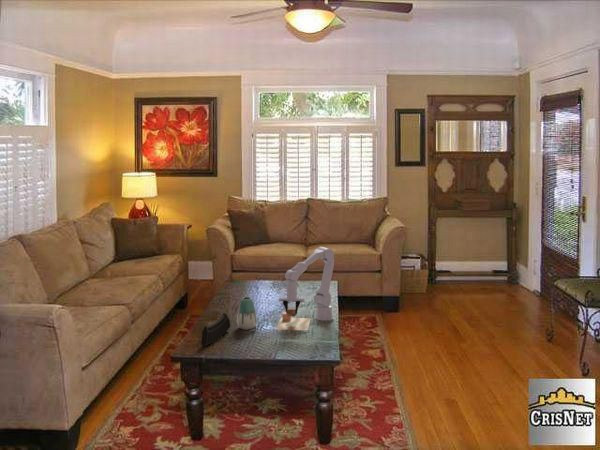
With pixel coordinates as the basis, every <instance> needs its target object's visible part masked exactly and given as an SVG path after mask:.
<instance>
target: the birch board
mask: <svg viewBox="0 0 600 450" xmlns="http://www.w3.org/2000/svg"><path fill="white" fill-rule="evenodd" d="M311 320H312V318H310V317H302V318H301V317H291V320H290V321H283V316H282V317H280V319H279V321H278V324H277V326H276V328H275V331H276V330H280V331H308V330H309V326H310V322H311Z"/></svg>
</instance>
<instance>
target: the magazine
mask: <svg viewBox="0 0 600 450" xmlns="http://www.w3.org/2000/svg"><path fill="white" fill-rule="evenodd" d="M230 327H231V322H230V318H229V316H228V315H227V313H225V312H224V313H223V314H222V315H221V316H220V317H219V319H218V320H216V321H215V322H213V323H212V324H210V325H208V326H203V329H202V331H201V340H200V345H201V346H208V345H210V344H213V343H215V342H216V341H218V340H219V339H220V337H221V336H222V337H223V336H224V335H225V334H226V333H227V332H228V330H229V329H230ZM222 337H221V338H222ZM218 338H219V339H218ZM217 339H218V340H217ZM215 340H216V341H215ZM214 341H215V342H214ZM212 342H213V343H212Z"/></svg>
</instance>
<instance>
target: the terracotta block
mask: <svg viewBox="0 0 600 450" xmlns="http://www.w3.org/2000/svg"><path fill="white" fill-rule="evenodd" d="M282 318H283V321H290V320H291V318H292V316H287V314H286V311H282Z"/></svg>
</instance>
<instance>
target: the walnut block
mask: <svg viewBox="0 0 600 450" xmlns="http://www.w3.org/2000/svg"><path fill="white" fill-rule="evenodd" d="M295 312H296V307H291V306H288V309H287V316H291V317H296V316H297V314H295Z"/></svg>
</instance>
